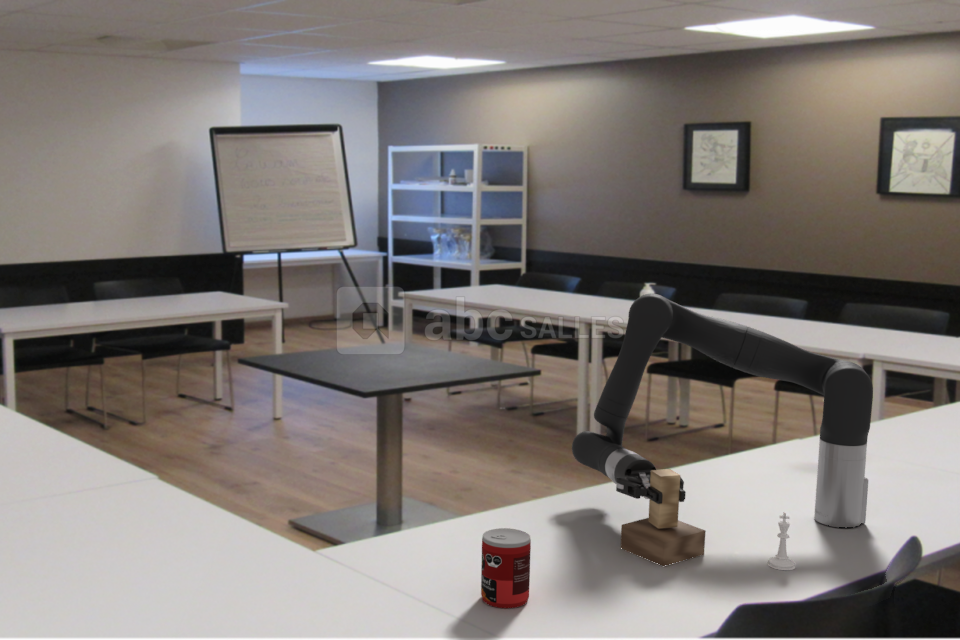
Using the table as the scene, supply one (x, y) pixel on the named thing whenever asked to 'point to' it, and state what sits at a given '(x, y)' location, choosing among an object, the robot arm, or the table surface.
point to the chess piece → (782, 548)
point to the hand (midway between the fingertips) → (671, 497)
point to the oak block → (665, 498)
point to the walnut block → (662, 541)
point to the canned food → (505, 567)
